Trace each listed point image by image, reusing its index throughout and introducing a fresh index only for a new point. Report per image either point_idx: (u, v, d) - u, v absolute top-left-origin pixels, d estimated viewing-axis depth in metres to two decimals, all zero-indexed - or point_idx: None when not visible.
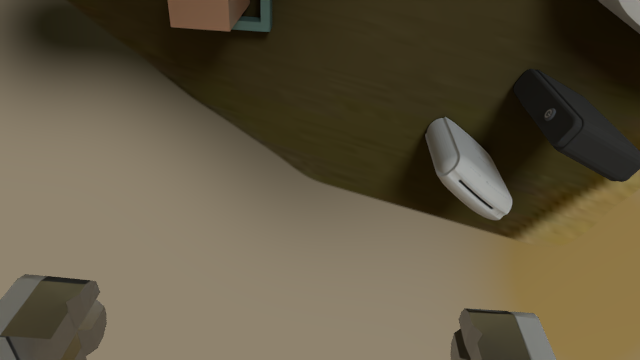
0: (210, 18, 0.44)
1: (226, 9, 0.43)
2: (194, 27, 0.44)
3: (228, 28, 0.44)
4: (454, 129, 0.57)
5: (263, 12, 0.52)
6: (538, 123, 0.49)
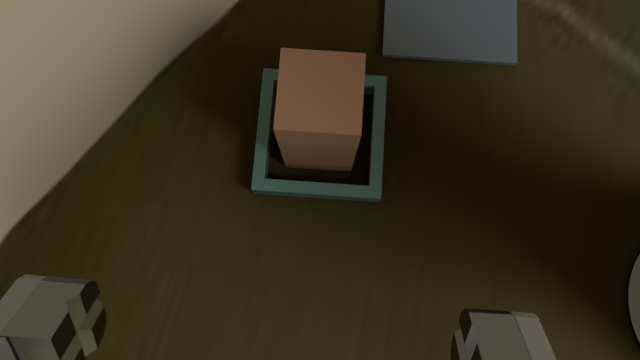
0: (292, 104, 0.30)
1: (304, 128, 0.30)
2: (279, 80, 0.30)
3: (277, 128, 0.30)
4: None
5: (277, 183, 0.38)
6: None
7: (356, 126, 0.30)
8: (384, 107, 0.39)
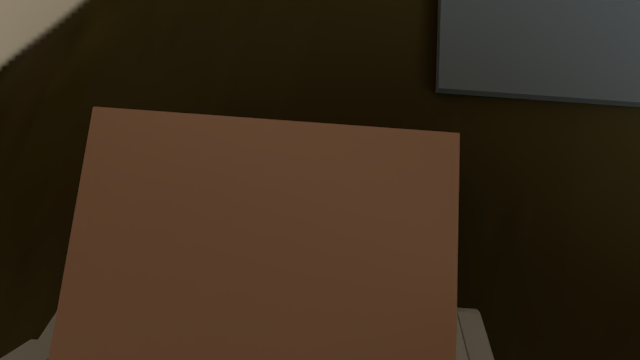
0: None
1: None
2: (75, 256, 0.07)
3: None
4: None
5: None
6: None
7: None
8: None
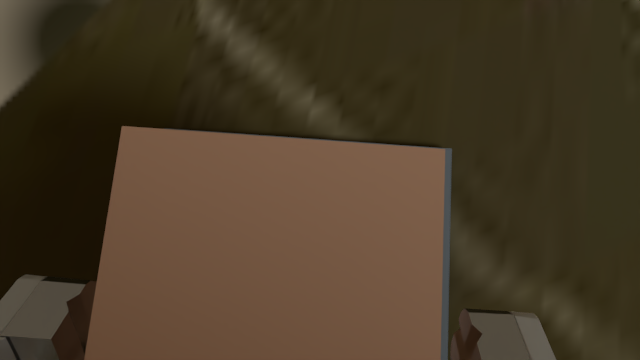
0: None
1: None
2: (108, 258, 0.08)
3: None
4: None
5: None
6: None
7: None
8: None
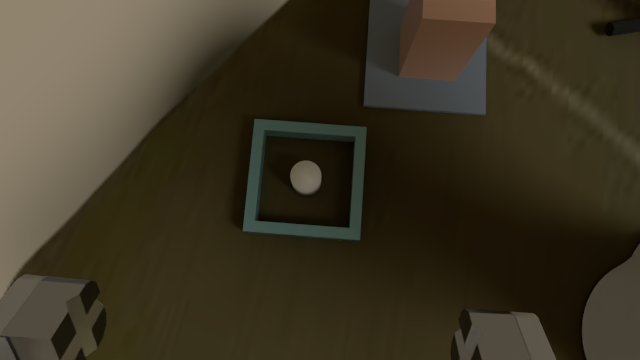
0: None
1: (448, 17, 0.36)
2: None
3: (426, 17, 0.36)
4: None
5: (266, 225, 0.42)
6: None
7: (490, 16, 0.36)
8: (364, 156, 0.44)
